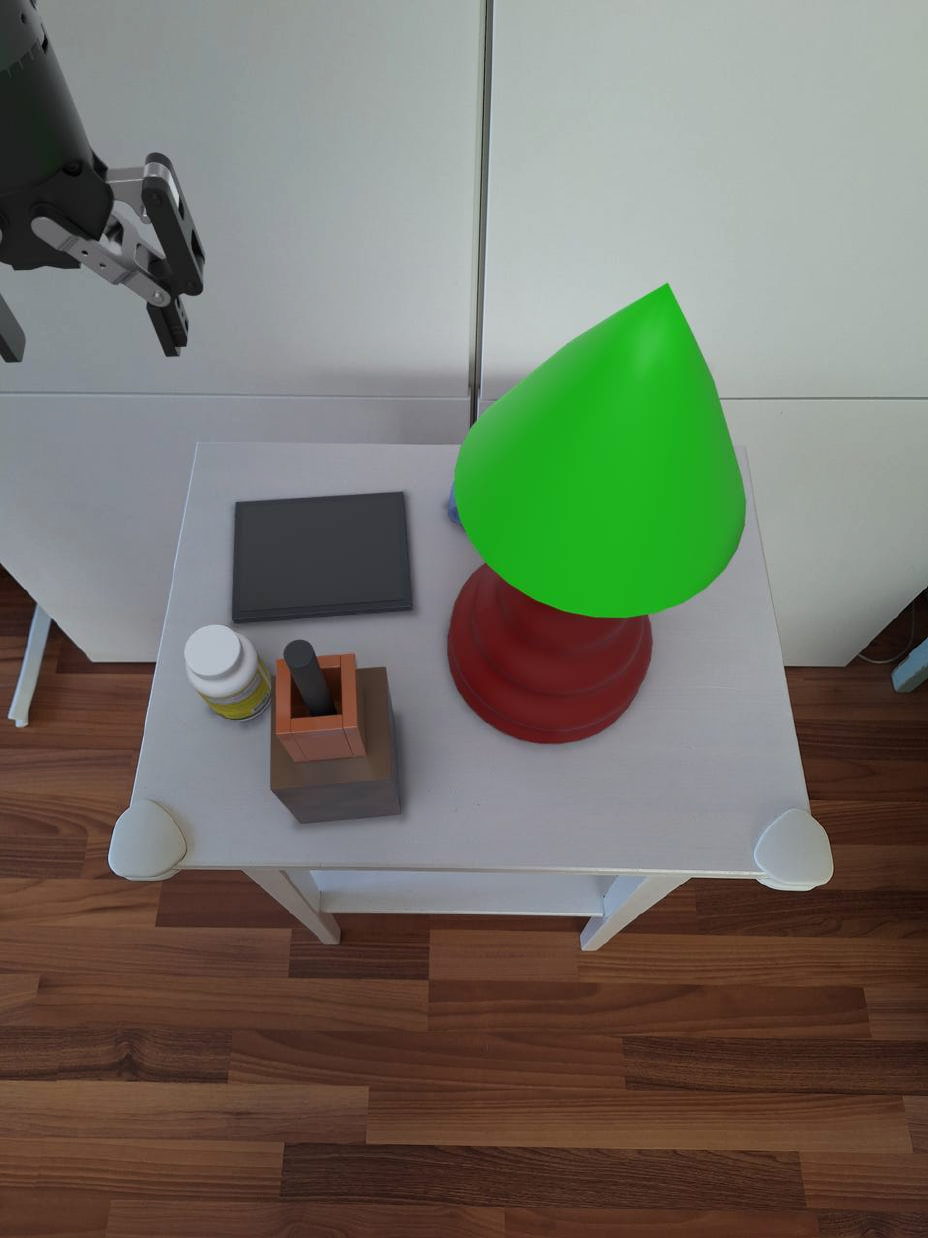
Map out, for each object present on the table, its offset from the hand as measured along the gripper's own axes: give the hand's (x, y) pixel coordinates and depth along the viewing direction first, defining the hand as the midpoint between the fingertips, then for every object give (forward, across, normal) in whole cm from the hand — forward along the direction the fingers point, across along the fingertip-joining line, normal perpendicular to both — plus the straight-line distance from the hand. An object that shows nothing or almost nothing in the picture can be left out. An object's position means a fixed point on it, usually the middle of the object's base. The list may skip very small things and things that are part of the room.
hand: (97, 348), depth 43 cm
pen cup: (+24, +10, -15) cm, 30 cm away
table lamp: (+37, +30, -5) cm, 48 cm away
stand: (+38, +10, -15) cm, 42 cm away
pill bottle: (+38, 0, -7) cm, 38 cm away
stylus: (+23, +10, -16) cm, 29 cm away
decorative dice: (+37, +24, +12) cm, 46 cm away
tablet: (+37, +8, +8) cm, 39 cm away
